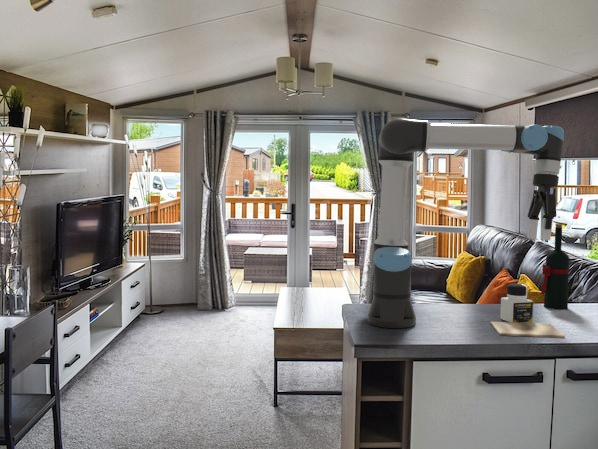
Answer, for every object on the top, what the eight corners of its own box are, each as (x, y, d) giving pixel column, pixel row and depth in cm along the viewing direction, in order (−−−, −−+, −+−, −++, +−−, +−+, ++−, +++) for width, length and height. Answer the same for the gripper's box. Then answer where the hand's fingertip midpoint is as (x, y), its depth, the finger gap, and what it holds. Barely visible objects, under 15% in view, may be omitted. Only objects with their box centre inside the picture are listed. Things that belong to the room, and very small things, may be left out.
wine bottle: (533, 305, 205) (536, 223, 203) (557, 304, 208) (560, 223, 206) (548, 310, 198) (551, 225, 196) (572, 309, 200) (576, 224, 198)
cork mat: (499, 335, 165) (499, 333, 165) (490, 323, 179) (490, 321, 179) (564, 337, 163) (564, 335, 162) (550, 325, 176) (550, 323, 176)
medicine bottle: (513, 324, 178) (514, 286, 177) (499, 318, 185) (501, 282, 184) (532, 323, 180) (534, 285, 179) (519, 317, 187) (520, 281, 186)
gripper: (573, 172, 171) (564, 241, 171) (545, 178, 195) (537, 239, 196) (547, 169, 171) (539, 238, 172) (522, 176, 196) (515, 237, 196)
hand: (538, 239), depth 184 cm, fingers open, 13 cm apart
